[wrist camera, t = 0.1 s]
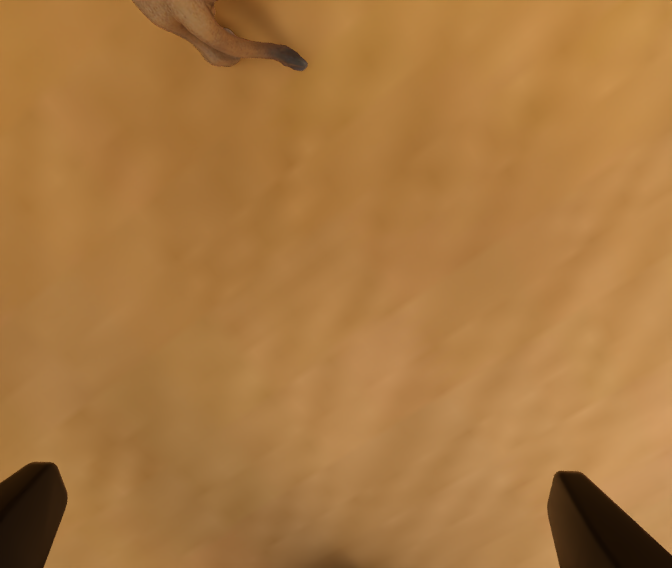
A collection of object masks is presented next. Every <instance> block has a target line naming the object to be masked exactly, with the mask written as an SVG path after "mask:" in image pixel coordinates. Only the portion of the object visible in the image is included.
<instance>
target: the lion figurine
mask: <svg viewBox="0 0 672 568" xmlns="http://www.w3.org/2000/svg"><path fill="white" fill-rule="evenodd" d="M132 1H133V2H134V3H135V5H136V6H137V7H138V8H139V9H140V10H141V12H142V13H143V14H144V15H145V16H146V17H147V18H148V19H149V20H150V21H151V22H153V23H154V24H155V25H156V26H158V27H160V28H162V29H164V30H166V31H169V32H172V33H174V34H176V35H178V36H180V37H182V38H184V39H186V40H187V41H189V42H190V43H192V44H193V45H194V46H195V47H196V48H197V49H198V51H199V52H200V53H201V54H202V56H203V57H204V59H205V60H206V61H207V62H209V63H210V64H212V65H214V66H224V67H230V66H232V65H234V64H236V63H237V62H239V60H240V58H264V59H274V60H277V61H279V62H281V63H282V64H283V65H284V66H288V67H290V68H292V69H294V70H297V71H303V70H305V69H306V67H307V65H308V63H307V62H306V61H305V60H304V59H303V58H302V57H301V56H300V55H299V54H298V53H297V52H296V51H294V50H293V49H291V48H289V47H287V46H285V45H277V44H273V43H261V42H254V41H249V40H246V39H243V38H239V37H237V36H235V34H234V33H233V32H232V31H231V30H230V29H228V28H222V27H221V26H220V25H219V24H218V23H217V22H216V20H215V18H214V17H215V7H214V2H216V1H217V0H132Z"/></svg>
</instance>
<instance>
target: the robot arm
mask: <svg viewBox="0 0 672 568" xmlns="http://www.w3.org/2000/svg"><path fill="white" fill-rule="evenodd" d="M67 498H68V497H67V491H66V488H65V485H64V483H63V480H62V477H61V475H60V472H59V470H58V467H57V466H56V465H55V464H54V463H52V462H32V463H29V464H28V465H26V466H24V467H23V468H21V469H20V470H19V471H17V472H16V473H14V474H13V475H11V476H10V477H9V478H7V479H6V480H4V481H3V482H1V483H0V568H44V565H45V562H46V560H47V557H48V554H49V551H50V549H51V546H52V543H53V541H54V538H55V535H56V533H57V530H58V527H59V524H60V522H61V519H62V516H63V514H64V511H65V508H66V505H67ZM547 510H548V518H549V522H550V526H551V531H552V535H553V539H554V544H555V548H556V552H557V557H558V561H559V565H560V568H672V555H671V554H670V553H669V552H667V551H666V550H665V549H664V548H663V547H662V546H661V545H660V544H659V543H658V542H657V541H656V540H654V539H653V538H652V537H651V536H650V535H649V534H648V533H647V532H646V531H645V530H644V529H643V528H642V527H640V526H639V525H638V524H637V523H636V522H635V521H634V520H633V519H632V518H631V517H630V516H629V515H627V514H626V513H625V512H624V511H623V510H622V509H621V508H620V507H619V506H618V505H617V504H616V503H614V502H613V501H612V500H611V499H610V498H609V497H608V496H607V495H606V494H605V493H604V492H603V491H602V490H600V489H599V488H598V487H597V486H596V485H595V484H594V483H593V482H592V481H591V480H590V479H589V478H587V477H586V476H585V475H584V474H583V473H581V472H578V471H558V472H556V474H555V475H554V478H553V482H552V487H551V491H550V495H549V499H548V505H547Z"/></svg>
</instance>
